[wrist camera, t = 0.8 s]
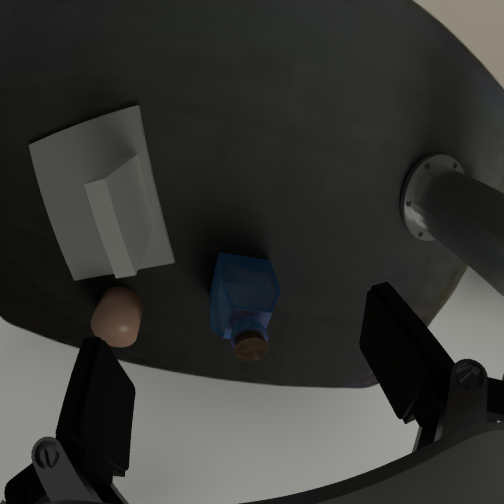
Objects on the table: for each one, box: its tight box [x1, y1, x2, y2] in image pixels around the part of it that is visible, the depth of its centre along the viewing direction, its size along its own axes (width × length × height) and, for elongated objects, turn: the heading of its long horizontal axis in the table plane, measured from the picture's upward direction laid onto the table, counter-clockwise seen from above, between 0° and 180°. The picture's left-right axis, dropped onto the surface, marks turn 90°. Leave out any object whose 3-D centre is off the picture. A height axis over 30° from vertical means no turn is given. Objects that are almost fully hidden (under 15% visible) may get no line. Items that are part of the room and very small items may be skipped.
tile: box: [84, 154, 155, 278], centre depth 24 cm, size 2×8×10 cm, turn 7°
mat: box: [29, 105, 175, 280], centre depth 29 cm, size 14×18×1 cm
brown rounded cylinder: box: [91, 286, 143, 347], centre depth 34 cm, size 6×6×5 cm
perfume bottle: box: [209, 252, 281, 361], centre depth 31 cm, size 6×6×12 cm
